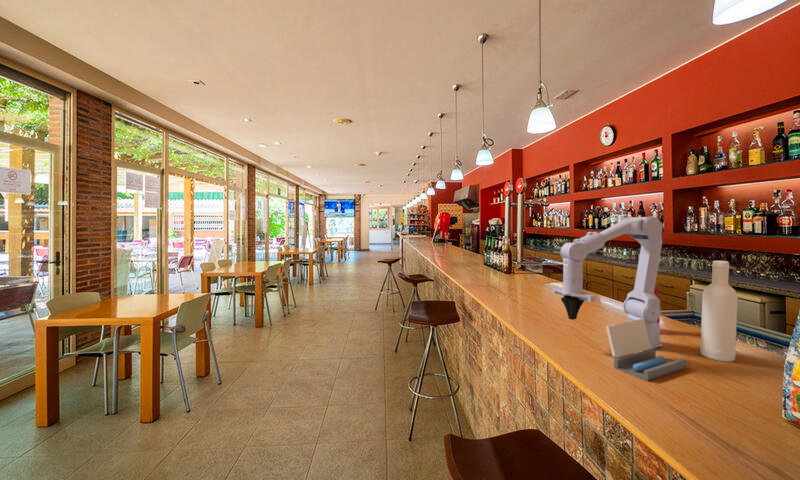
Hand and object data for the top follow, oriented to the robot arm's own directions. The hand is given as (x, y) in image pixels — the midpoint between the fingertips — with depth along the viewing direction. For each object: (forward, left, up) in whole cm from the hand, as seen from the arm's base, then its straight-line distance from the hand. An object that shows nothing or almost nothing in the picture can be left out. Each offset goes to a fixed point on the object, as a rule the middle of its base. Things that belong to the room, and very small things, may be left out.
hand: (572, 318), depth 110 cm
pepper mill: (-42, 0, -10) cm, 43 cm away
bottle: (-35, +24, -10) cm, 43 cm away
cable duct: (-8, +20, -10) cm, 23 cm away
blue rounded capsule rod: (-8, +20, -10) cm, 23 cm away
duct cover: (-8, +14, -3) cm, 16 cm away
